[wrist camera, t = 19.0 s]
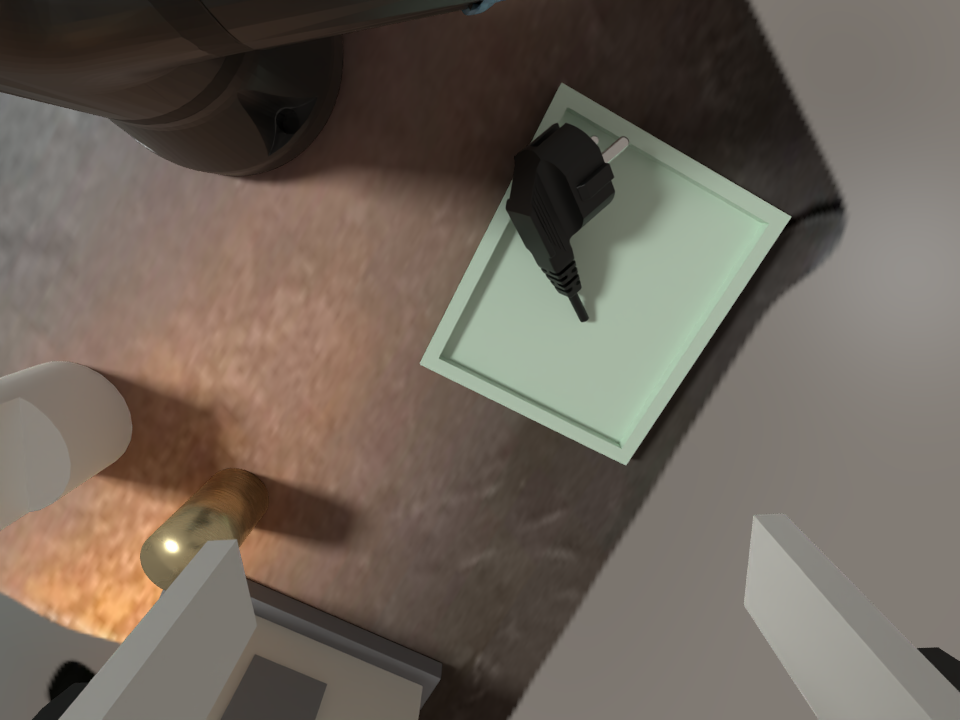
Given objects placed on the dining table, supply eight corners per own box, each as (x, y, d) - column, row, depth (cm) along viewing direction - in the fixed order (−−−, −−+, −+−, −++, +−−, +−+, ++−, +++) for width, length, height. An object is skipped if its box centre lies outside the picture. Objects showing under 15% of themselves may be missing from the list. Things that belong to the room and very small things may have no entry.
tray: (558, 88, 32) (561, 82, 30) (778, 216, 34) (791, 216, 32) (422, 358, 37) (419, 364, 36) (620, 456, 39) (626, 465, 37)
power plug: (551, 313, 37) (473, 170, 30) (623, 248, 38) (565, 95, 31) (603, 340, 32) (526, 180, 25) (683, 266, 34) (631, 91, 26)
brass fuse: (201, 468, 40) (133, 529, 32) (265, 468, 40) (212, 530, 32) (211, 523, 41) (147, 594, 33) (272, 524, 41) (222, 595, 33)
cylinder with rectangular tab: (8, 351, 37) (-206, 413, 26) (131, 371, 38) (-26, 442, 26) (18, 459, 40) (-173, 560, 28) (133, 478, 40) (-9, 585, 29)
